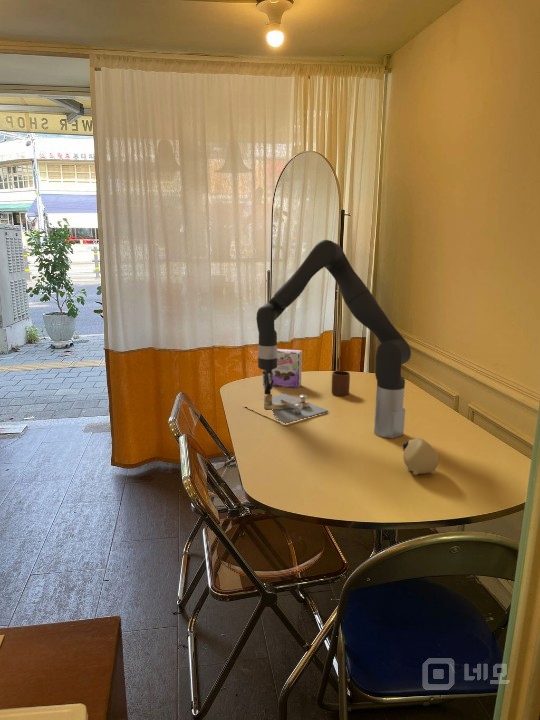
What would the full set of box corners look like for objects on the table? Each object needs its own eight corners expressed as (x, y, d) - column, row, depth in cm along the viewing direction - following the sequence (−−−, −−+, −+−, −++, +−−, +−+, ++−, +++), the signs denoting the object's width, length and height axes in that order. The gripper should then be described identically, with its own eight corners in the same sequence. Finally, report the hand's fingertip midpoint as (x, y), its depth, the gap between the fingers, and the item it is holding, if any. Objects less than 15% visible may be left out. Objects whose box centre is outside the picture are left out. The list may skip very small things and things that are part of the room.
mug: (327, 388, 224) (328, 368, 222) (343, 387, 225) (344, 367, 223) (333, 396, 213) (334, 375, 211) (351, 396, 214) (352, 375, 211)
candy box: (268, 385, 228) (269, 350, 223) (272, 382, 233) (272, 347, 229) (298, 388, 224) (299, 352, 219) (301, 384, 229) (302, 349, 225)
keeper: (316, 410, 194) (317, 399, 193) (297, 415, 188) (297, 404, 187) (299, 403, 201) (300, 392, 200) (280, 408, 195) (280, 397, 194)
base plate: (328, 412, 194) (328, 410, 194) (285, 425, 181) (285, 423, 181) (284, 395, 214) (284, 393, 214) (242, 406, 200) (242, 404, 200)
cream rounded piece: (427, 462, 154) (430, 429, 151) (443, 481, 142) (446, 446, 139) (395, 462, 153) (398, 430, 150) (409, 482, 141) (412, 447, 139)
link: (307, 403, 201) (307, 390, 199) (310, 407, 196) (311, 394, 195) (263, 406, 197) (263, 393, 196) (265, 410, 192) (265, 397, 191)
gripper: (280, 359, 188) (279, 403, 192) (274, 351, 200) (273, 392, 205) (260, 360, 186) (260, 404, 191) (255, 351, 199) (255, 393, 204)
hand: (267, 398), depth 198 cm, fingers closed
